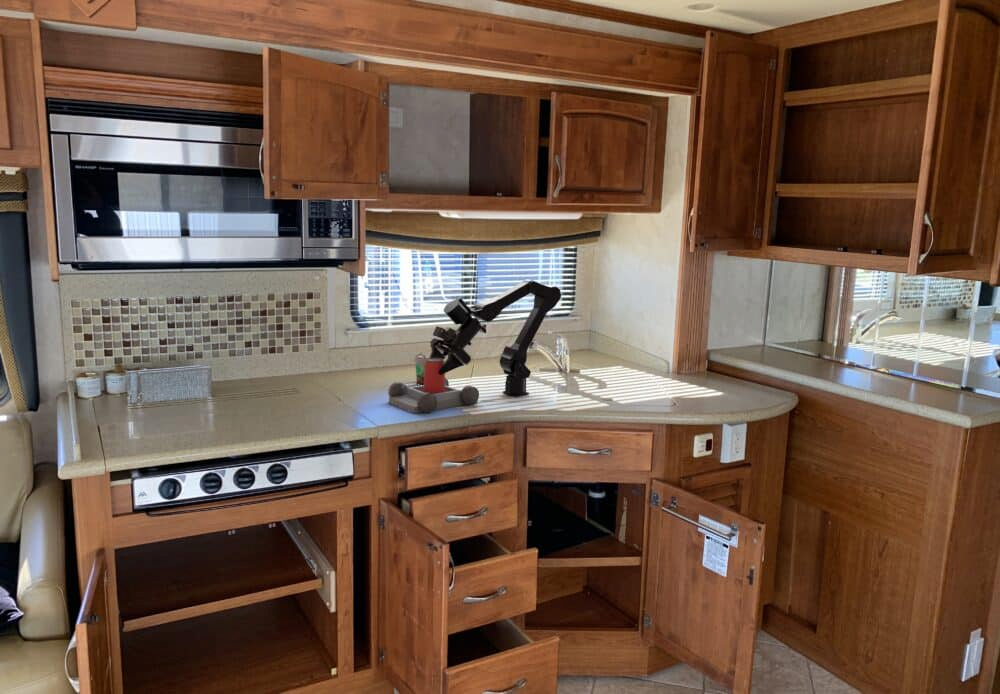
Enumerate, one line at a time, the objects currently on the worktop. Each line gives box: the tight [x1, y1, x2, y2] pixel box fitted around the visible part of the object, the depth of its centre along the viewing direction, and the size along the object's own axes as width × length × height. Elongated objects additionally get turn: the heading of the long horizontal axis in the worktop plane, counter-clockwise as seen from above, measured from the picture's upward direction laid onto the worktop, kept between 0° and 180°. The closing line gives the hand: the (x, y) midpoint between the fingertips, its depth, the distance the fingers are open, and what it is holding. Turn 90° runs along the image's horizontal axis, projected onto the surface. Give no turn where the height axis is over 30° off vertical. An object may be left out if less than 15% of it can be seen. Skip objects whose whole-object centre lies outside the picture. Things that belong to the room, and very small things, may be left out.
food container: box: [413, 352, 430, 386], centre depth 271 cm, size 12×6×10 cm, turn 40°
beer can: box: [424, 358, 446, 394], centre depth 246 cm, size 7×7×12 cm
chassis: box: [387, 377, 480, 414], centre depth 247 cm, size 24×18×6 cm
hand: (432, 371), depth 245 cm, fingers open, 9 cm apart
